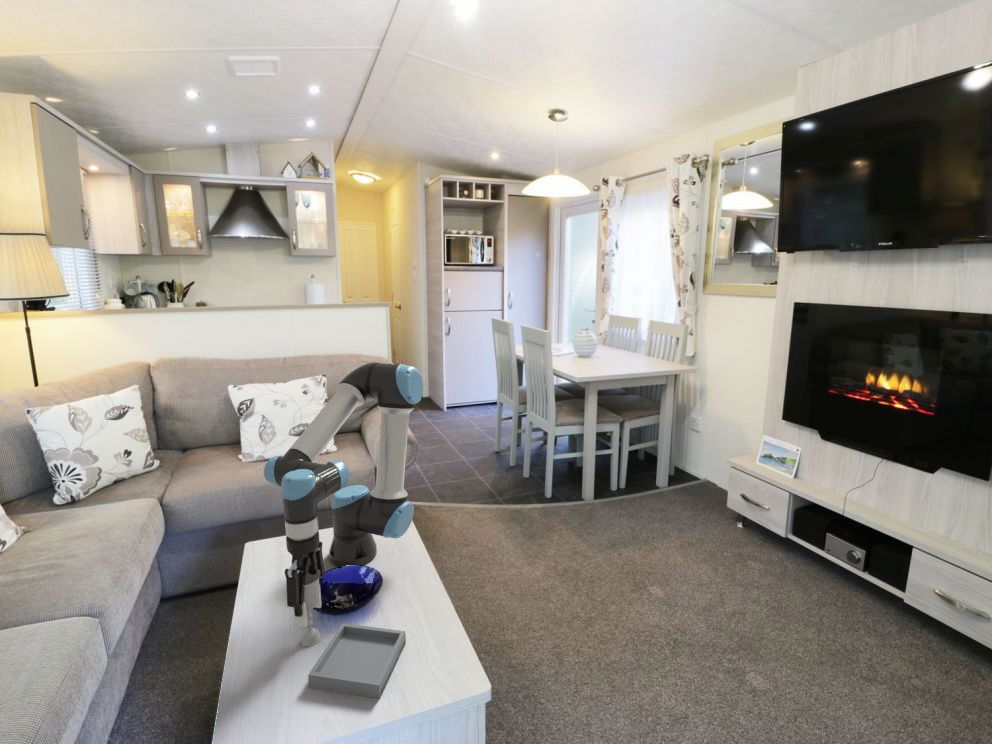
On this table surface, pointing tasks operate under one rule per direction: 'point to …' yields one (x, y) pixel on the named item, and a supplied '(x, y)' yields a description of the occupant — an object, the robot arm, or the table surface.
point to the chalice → (311, 596)
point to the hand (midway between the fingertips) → (309, 615)
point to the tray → (358, 660)
